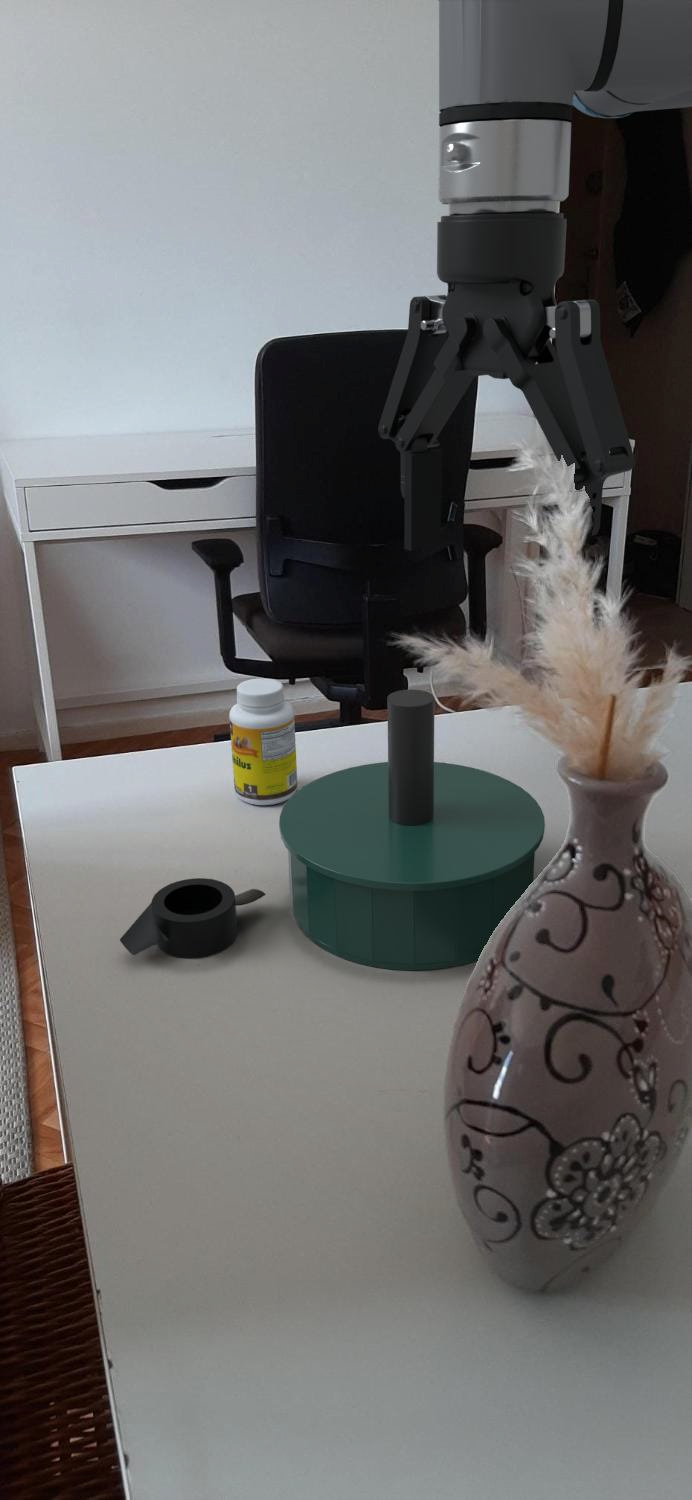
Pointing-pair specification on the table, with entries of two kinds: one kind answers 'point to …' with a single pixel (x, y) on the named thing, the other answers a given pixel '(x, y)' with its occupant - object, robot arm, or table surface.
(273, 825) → the table surface
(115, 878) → the table surface
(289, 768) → the supplement bottle
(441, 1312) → the table surface
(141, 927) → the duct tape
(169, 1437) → the table surface
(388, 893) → the tin
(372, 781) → the lid
